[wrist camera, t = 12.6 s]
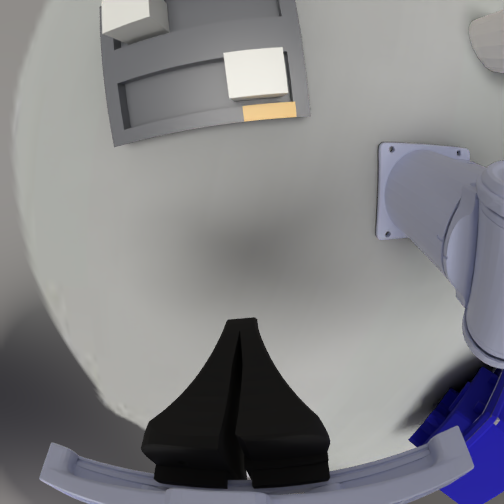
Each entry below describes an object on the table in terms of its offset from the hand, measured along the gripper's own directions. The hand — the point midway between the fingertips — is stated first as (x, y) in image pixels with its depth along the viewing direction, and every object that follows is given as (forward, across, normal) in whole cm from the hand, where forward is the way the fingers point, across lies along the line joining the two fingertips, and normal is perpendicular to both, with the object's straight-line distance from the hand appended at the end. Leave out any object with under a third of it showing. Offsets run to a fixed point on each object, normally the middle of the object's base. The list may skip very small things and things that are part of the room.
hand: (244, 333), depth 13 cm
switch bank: (+10, +1, -15) cm, 18 cm away
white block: (+9, -2, -12) cm, 15 cm away
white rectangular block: (+9, +5, -18) cm, 21 cm away
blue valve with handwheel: (+10, -39, +31) cm, 51 cm away
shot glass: (+10, -25, -18) cm, 32 cm away
